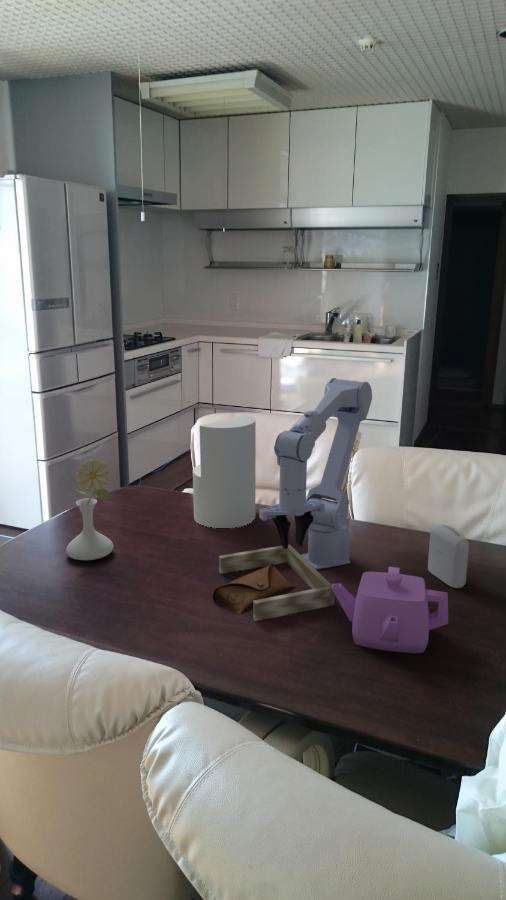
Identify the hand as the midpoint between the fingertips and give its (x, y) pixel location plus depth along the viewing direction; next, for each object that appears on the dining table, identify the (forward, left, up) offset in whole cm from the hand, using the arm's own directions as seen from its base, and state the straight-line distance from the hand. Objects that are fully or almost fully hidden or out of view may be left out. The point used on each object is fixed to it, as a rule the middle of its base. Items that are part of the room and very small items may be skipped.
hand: (291, 545), depth 141 cm
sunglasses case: (+9, +1, -10) cm, 13 cm away
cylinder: (+1, -43, -10) cm, 44 cm away
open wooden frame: (+4, 0, -9) cm, 10 cm away
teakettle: (-9, +25, -10) cm, 28 cm away
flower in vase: (+39, -31, -10) cm, 51 cm away
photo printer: (-34, +10, -10) cm, 37 cm away
